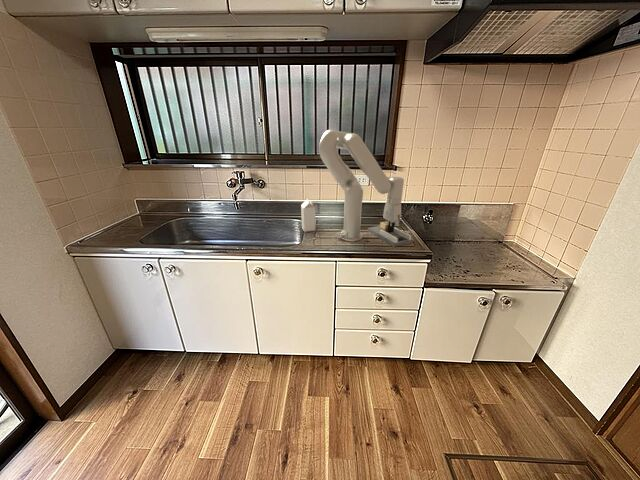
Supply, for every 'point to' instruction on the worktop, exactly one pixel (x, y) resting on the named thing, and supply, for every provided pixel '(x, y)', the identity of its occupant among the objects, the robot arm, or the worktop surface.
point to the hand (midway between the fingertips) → (390, 231)
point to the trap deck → (391, 236)
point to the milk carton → (308, 216)
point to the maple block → (384, 226)
